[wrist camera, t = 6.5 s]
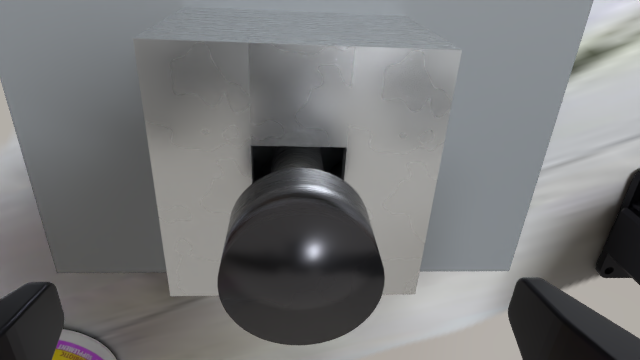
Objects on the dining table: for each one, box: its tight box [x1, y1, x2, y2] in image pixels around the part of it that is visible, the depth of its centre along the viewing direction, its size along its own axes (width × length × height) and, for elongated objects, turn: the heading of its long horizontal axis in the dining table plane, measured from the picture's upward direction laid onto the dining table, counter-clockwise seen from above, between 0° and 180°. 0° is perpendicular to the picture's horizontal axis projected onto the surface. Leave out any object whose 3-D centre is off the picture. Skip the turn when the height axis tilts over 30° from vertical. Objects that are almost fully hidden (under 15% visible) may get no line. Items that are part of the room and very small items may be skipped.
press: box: [133, 7, 462, 296], centre depth 15 cm, size 8×8×6 cm
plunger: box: [217, 146, 385, 345], centre depth 13 cm, size 6×6×9 cm
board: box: [0, 0, 593, 273], centre depth 19 cm, size 22×16×2 cm
